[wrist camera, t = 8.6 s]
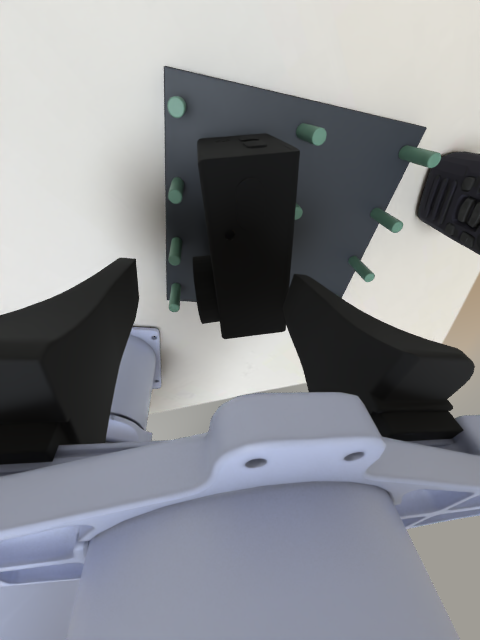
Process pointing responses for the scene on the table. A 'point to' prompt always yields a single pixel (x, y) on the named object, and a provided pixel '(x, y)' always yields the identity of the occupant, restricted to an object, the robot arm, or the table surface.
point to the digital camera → (246, 232)
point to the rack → (313, 176)
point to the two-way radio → (454, 199)
